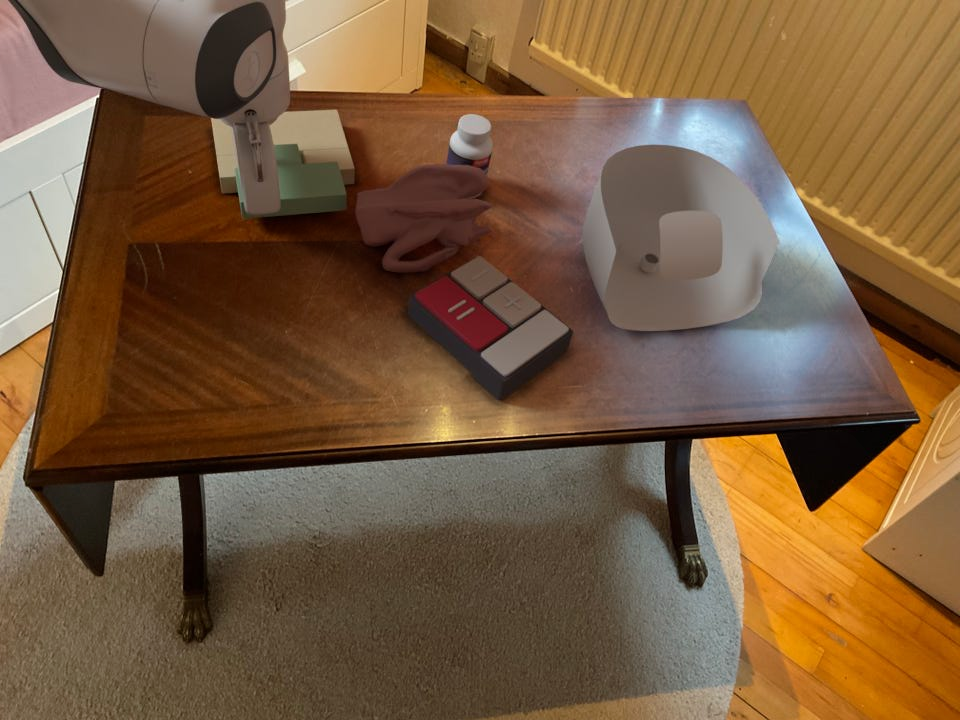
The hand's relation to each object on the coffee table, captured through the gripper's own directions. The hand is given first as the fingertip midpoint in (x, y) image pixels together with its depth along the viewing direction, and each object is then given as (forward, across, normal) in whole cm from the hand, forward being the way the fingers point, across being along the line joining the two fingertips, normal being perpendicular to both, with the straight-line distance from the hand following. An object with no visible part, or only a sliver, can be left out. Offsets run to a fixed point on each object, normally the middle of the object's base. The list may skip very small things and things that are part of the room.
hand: (256, 189), depth 86 cm
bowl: (+3, -17, -45) cm, 48 cm away
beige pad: (+3, +9, -4) cm, 11 cm away
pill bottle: (+3, +1, -26) cm, 26 cm away
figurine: (+3, -8, -18) cm, 20 cm away
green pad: (+2, +2, -4) cm, 5 cm away
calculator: (+3, -23, -22) cm, 32 cm away
